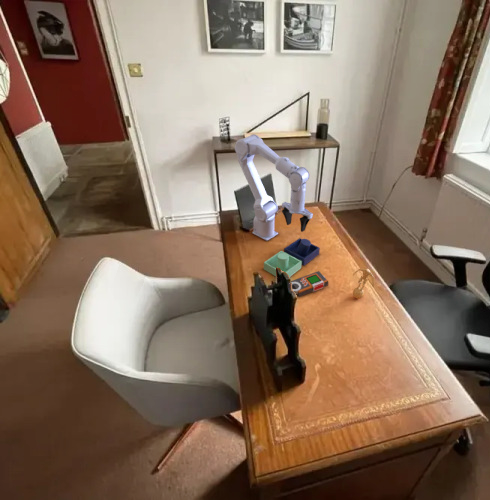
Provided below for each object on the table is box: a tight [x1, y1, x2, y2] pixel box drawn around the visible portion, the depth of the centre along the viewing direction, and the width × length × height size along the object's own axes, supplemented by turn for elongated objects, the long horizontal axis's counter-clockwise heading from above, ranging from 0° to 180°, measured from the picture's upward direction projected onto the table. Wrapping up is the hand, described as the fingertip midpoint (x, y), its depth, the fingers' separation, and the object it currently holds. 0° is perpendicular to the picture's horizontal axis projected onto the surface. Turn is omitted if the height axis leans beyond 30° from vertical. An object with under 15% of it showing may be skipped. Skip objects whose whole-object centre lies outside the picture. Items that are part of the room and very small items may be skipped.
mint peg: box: [277, 253, 289, 271], centre depth 124 cm, size 4×4×6 cm
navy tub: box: [283, 237, 321, 267], centre depth 133 cm, size 11×11×4 cm
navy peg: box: [297, 238, 312, 256], centre depth 132 cm, size 4×4×6 cm
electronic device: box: [290, 270, 329, 297], centre depth 117 cm, size 7×3×15 cm
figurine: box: [352, 268, 375, 300], centre depth 112 cm, size 8×6×12 cm
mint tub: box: [263, 250, 303, 278], centre depth 126 cm, size 11×11×4 cm
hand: (295, 227), depth 134 cm, fingers open, 7 cm apart
